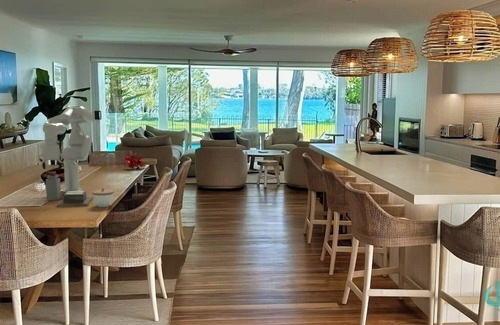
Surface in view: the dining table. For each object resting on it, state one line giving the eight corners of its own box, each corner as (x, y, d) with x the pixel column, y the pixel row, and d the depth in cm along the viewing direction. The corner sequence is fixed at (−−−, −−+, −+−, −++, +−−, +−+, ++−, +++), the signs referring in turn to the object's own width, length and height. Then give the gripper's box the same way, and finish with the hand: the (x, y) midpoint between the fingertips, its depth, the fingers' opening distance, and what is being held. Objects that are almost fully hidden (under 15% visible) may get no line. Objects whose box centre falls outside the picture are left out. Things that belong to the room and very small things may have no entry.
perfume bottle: (60, 197, 321) (59, 171, 318) (57, 200, 314) (56, 172, 312) (50, 197, 321) (49, 171, 318) (46, 200, 314) (45, 172, 312)
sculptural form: (150, 157, 464) (131, 149, 468) (141, 152, 440) (121, 144, 445) (143, 176, 462) (124, 168, 467) (132, 172, 438) (112, 164, 443)
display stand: (63, 200, 314) (63, 189, 313) (92, 199, 317) (91, 189, 316) (57, 206, 294) (56, 196, 293) (87, 205, 297) (87, 195, 297)
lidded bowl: (113, 207, 294) (112, 189, 292) (91, 208, 291) (91, 190, 290) (114, 203, 306) (114, 186, 304) (93, 203, 303) (93, 186, 302)
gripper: (66, 142, 318) (67, 167, 320) (38, 142, 314) (39, 168, 316) (64, 143, 310) (65, 169, 312) (35, 143, 307) (36, 169, 309)
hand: (52, 168), depth 314 cm, fingers open, 9 cm apart
